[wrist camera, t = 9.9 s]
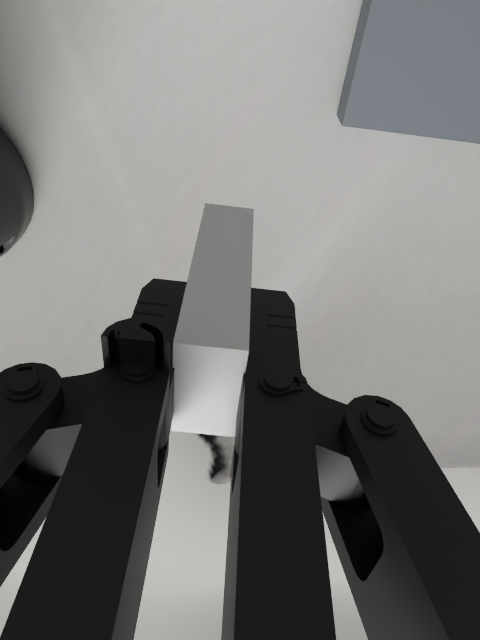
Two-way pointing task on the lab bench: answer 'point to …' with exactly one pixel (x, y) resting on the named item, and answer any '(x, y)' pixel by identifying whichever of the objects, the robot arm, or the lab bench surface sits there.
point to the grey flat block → (415, 69)
